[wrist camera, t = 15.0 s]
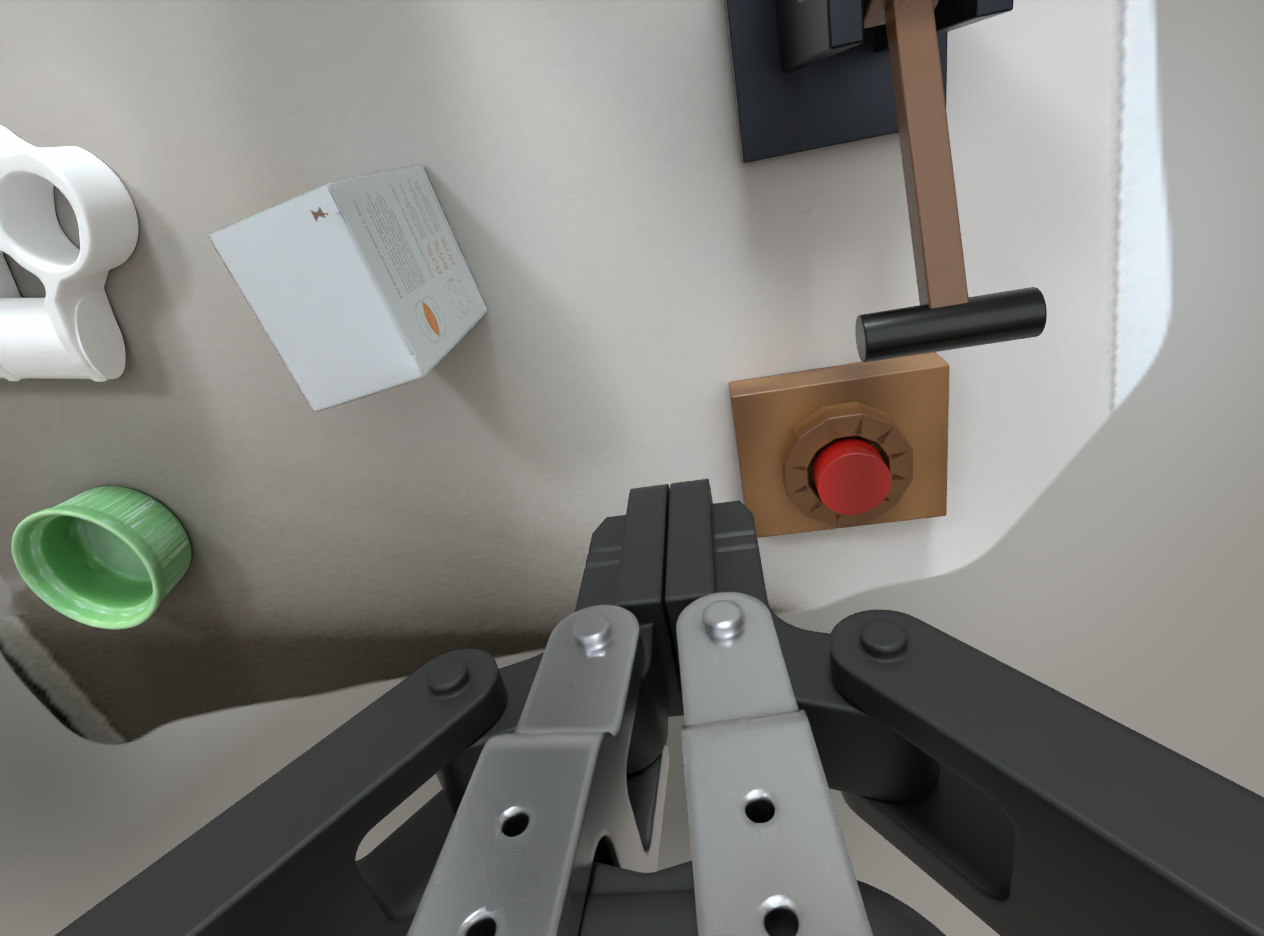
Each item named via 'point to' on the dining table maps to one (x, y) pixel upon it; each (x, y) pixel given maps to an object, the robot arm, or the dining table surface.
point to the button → (851, 477)
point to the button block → (835, 410)
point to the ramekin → (103, 556)
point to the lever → (934, 211)
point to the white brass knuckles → (61, 262)
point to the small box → (355, 283)
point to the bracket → (821, 71)
